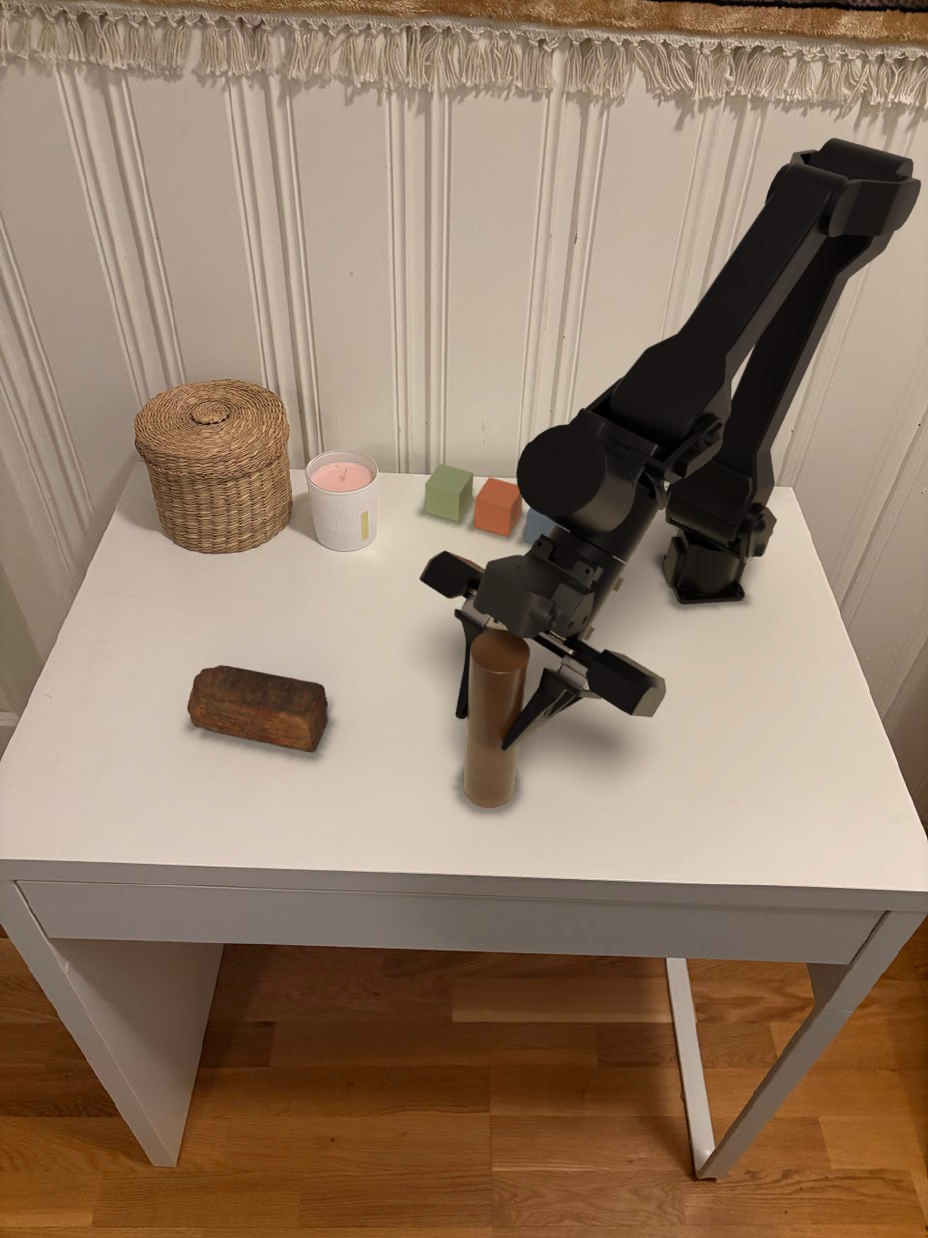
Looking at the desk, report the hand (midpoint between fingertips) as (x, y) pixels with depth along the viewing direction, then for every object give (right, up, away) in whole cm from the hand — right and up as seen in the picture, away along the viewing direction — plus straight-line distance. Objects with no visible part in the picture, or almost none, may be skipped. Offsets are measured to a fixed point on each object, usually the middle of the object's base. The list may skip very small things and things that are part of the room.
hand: (481, 733), depth 67 cm
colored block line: (+2, +18, +29) cm, 35 cm away
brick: (-18, -1, +10) cm, 21 cm away
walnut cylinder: (+1, -5, +7) cm, 8 cm away
